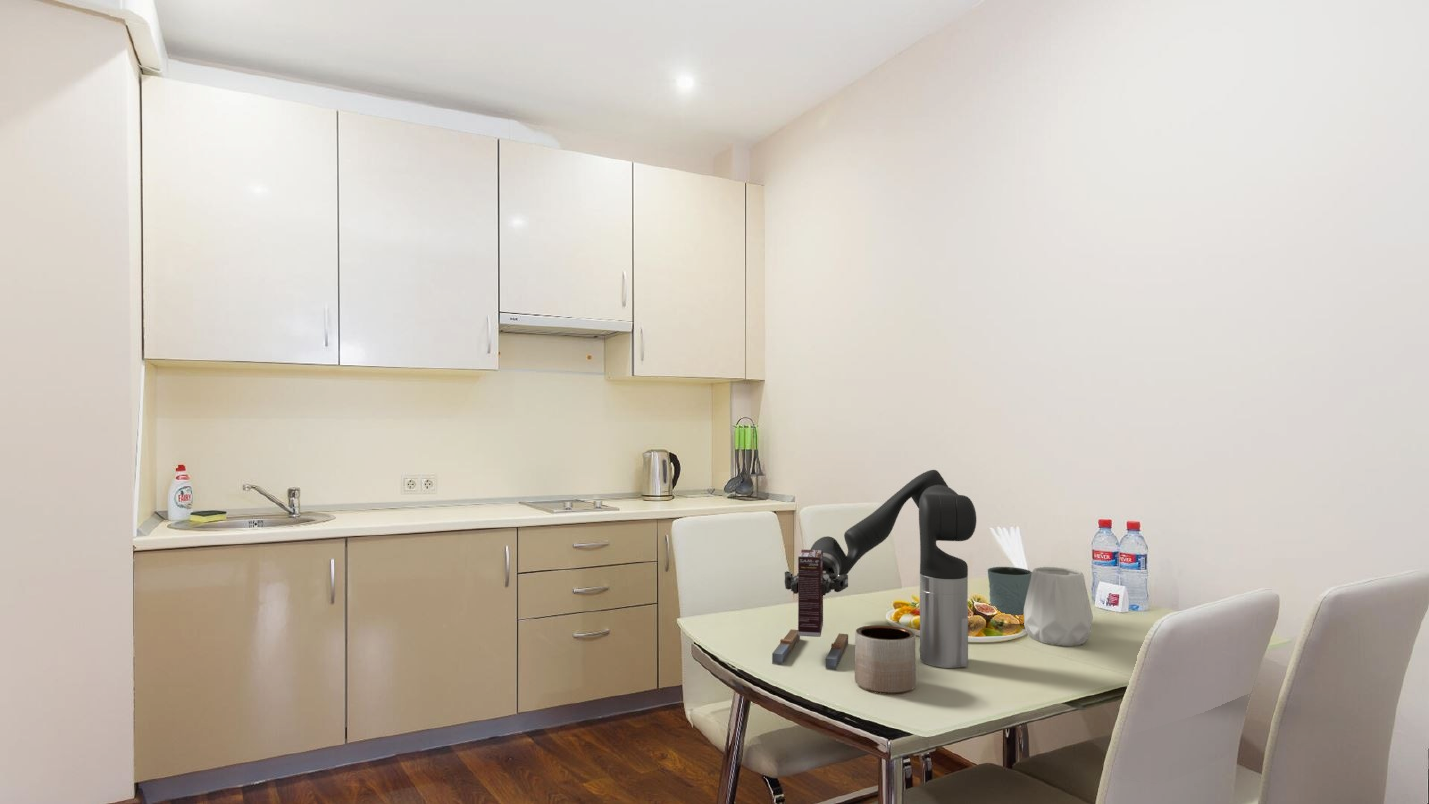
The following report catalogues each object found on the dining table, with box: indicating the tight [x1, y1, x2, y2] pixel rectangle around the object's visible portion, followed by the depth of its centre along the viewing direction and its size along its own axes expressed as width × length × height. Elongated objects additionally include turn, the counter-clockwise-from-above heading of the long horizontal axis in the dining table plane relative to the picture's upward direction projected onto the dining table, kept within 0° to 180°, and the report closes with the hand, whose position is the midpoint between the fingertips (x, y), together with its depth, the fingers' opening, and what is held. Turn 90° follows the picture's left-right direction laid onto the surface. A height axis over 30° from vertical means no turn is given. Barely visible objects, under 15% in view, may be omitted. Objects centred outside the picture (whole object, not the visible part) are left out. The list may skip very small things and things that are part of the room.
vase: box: [1023, 566, 1094, 647], centre depth 176 cm, size 14×14×15 cm
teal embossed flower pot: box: [987, 566, 1032, 615], centre depth 193 cm, size 10×10×12 cm
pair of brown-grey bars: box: [771, 629, 849, 671], centre depth 164 cm, size 12×19×3 cm, turn 163°
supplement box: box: [797, 549, 824, 638], centre depth 163 cm, size 9×5×16 cm, turn 169°
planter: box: [854, 624, 917, 695], centre depth 145 cm, size 11×11×10 cm
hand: (808, 589), depth 160 cm, fingers closed on supplement box, 5 cm apart
